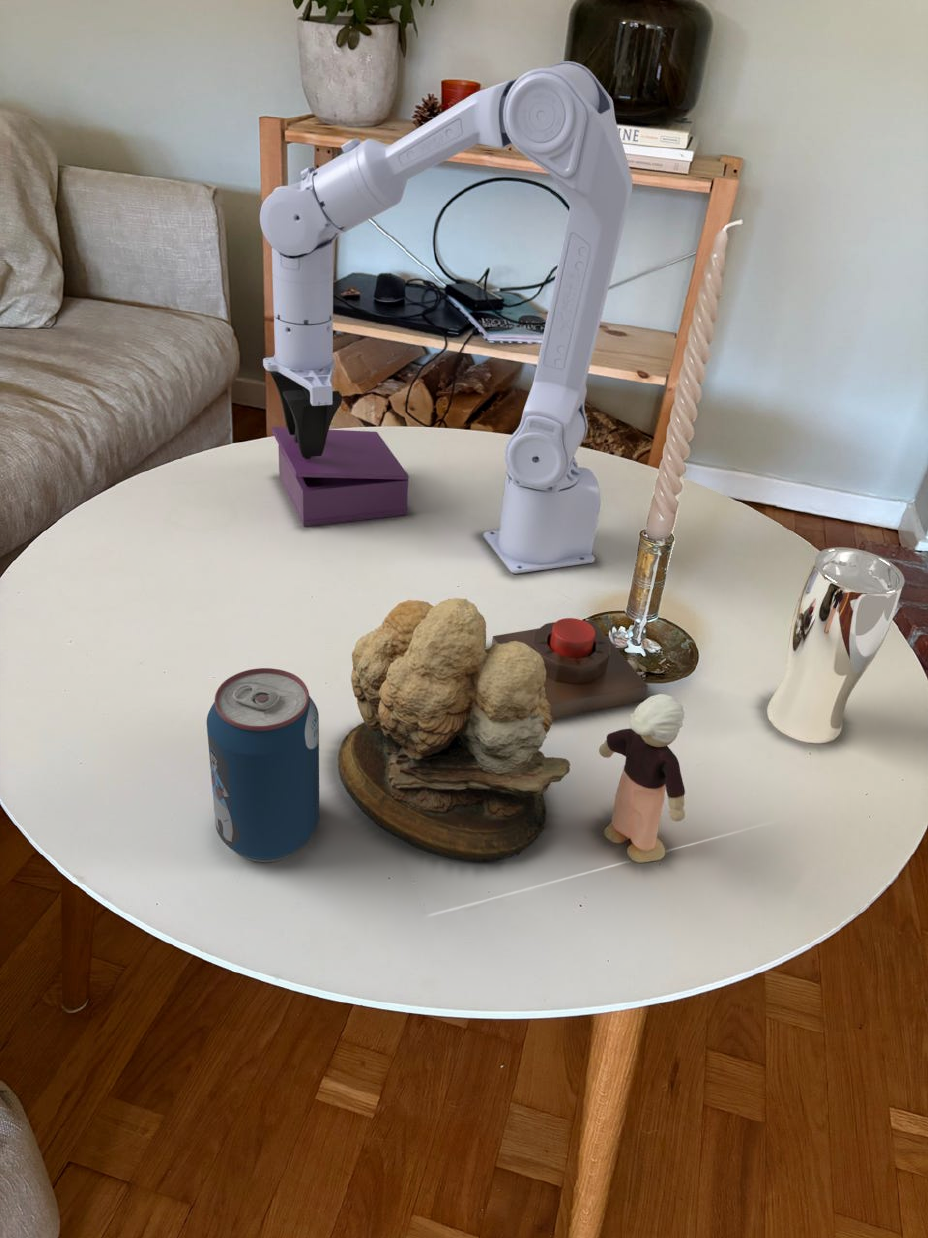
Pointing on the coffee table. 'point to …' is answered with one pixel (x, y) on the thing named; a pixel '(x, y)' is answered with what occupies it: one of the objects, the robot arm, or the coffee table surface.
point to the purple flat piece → (342, 456)
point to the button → (572, 638)
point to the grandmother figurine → (646, 776)
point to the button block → (582, 674)
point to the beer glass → (833, 640)
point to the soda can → (264, 763)
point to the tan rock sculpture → (449, 733)
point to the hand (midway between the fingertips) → (305, 443)
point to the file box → (342, 497)
